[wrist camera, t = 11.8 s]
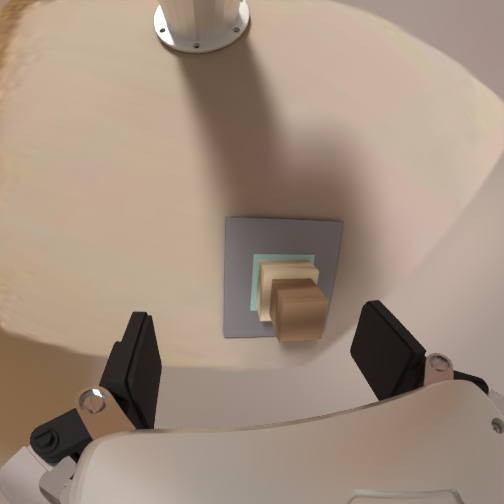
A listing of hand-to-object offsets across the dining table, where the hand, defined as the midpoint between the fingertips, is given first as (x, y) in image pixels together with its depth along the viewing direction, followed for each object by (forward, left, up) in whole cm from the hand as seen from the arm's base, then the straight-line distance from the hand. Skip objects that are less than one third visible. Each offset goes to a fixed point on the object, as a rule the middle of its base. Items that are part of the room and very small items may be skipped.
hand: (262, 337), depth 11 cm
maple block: (+9, +8, -24) cm, 27 cm away
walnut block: (+9, +8, -20) cm, 24 cm away
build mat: (+9, +8, -25) cm, 28 cm away
